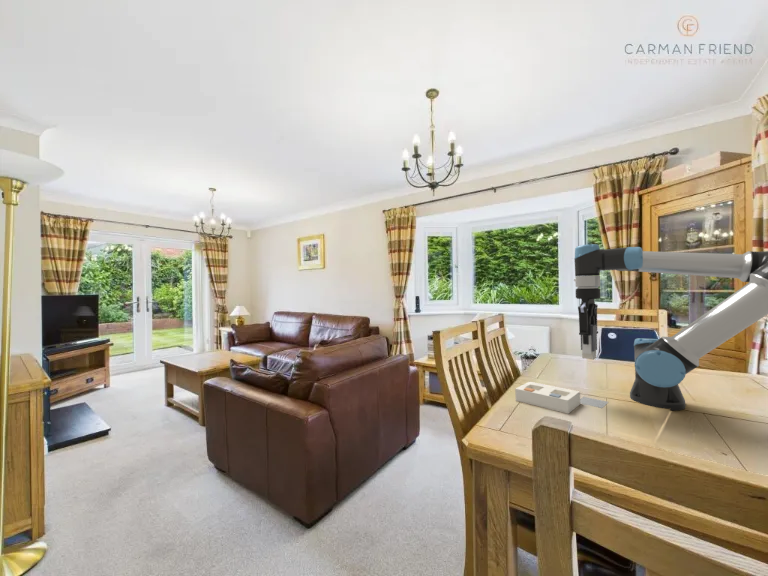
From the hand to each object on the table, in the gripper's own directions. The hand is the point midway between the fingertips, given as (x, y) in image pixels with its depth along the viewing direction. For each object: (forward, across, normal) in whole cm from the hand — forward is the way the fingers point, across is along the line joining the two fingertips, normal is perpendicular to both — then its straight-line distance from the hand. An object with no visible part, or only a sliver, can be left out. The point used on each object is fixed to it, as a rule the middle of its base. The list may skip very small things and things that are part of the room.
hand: (589, 352), depth 115 cm
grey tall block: (+2, 0, 0) cm, 2 cm away
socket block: (+19, +10, -11) cm, 24 cm away
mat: (+19, 0, +1) cm, 19 cm away
